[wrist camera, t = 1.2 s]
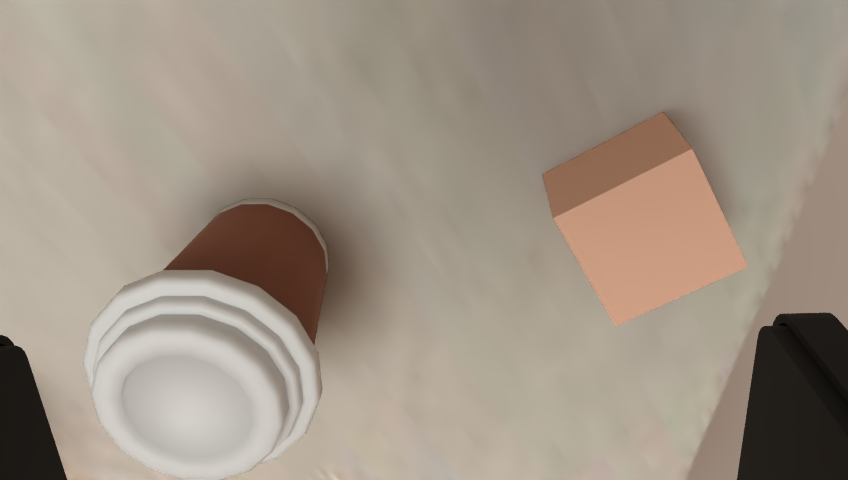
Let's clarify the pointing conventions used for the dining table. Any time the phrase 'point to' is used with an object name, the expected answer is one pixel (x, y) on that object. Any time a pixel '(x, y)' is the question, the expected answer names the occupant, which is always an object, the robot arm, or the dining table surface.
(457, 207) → the dining table surface
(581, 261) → the stacking block
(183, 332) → the coffee cup
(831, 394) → the robot arm
